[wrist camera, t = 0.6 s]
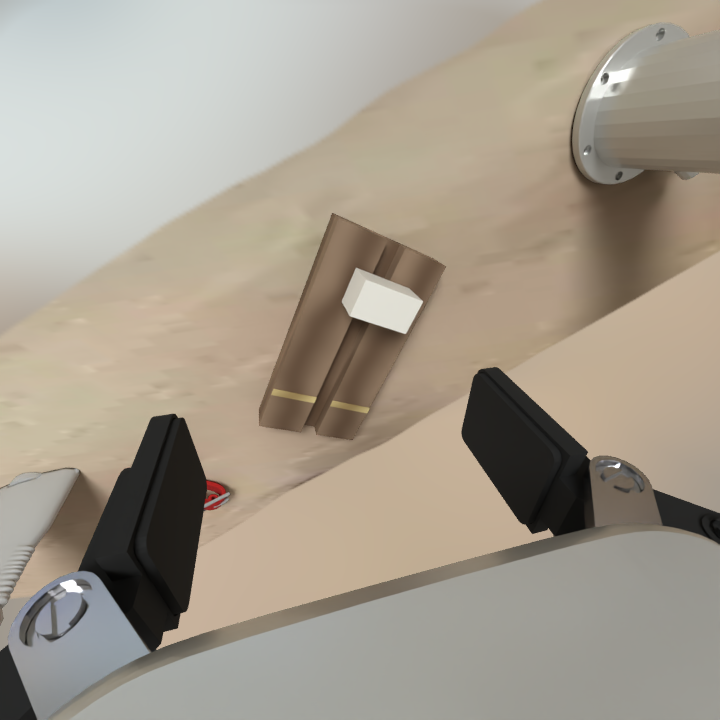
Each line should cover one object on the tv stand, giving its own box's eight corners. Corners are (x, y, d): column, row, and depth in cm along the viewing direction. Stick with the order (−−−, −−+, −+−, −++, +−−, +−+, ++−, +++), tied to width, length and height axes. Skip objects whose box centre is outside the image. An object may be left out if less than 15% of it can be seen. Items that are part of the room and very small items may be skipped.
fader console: (433, 258, 37) (446, 267, 34) (347, 424, 46) (352, 440, 44) (332, 212, 32) (339, 218, 29) (259, 409, 41) (259, 426, 39)
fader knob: (402, 282, 35) (423, 301, 31) (388, 312, 37) (405, 334, 32) (351, 262, 33) (366, 279, 28) (337, 294, 34) (349, 316, 30)
